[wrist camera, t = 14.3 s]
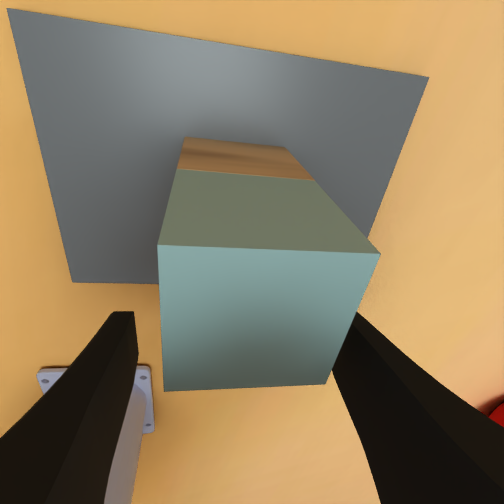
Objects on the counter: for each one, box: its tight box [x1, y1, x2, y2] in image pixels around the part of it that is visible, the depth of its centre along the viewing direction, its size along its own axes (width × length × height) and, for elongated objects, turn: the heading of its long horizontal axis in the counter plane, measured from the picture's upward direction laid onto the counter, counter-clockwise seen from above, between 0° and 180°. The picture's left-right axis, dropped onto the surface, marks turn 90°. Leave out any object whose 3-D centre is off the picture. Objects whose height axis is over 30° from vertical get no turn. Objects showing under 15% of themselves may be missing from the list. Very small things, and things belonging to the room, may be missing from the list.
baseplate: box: [7, 8, 429, 284], centre depth 16 cm, size 13×18×1 cm
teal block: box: [157, 169, 381, 392], centre depth 10 cm, size 5×5×5 cm
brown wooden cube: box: [177, 137, 315, 181], centre depth 14 cm, size 5×5×5 cm
